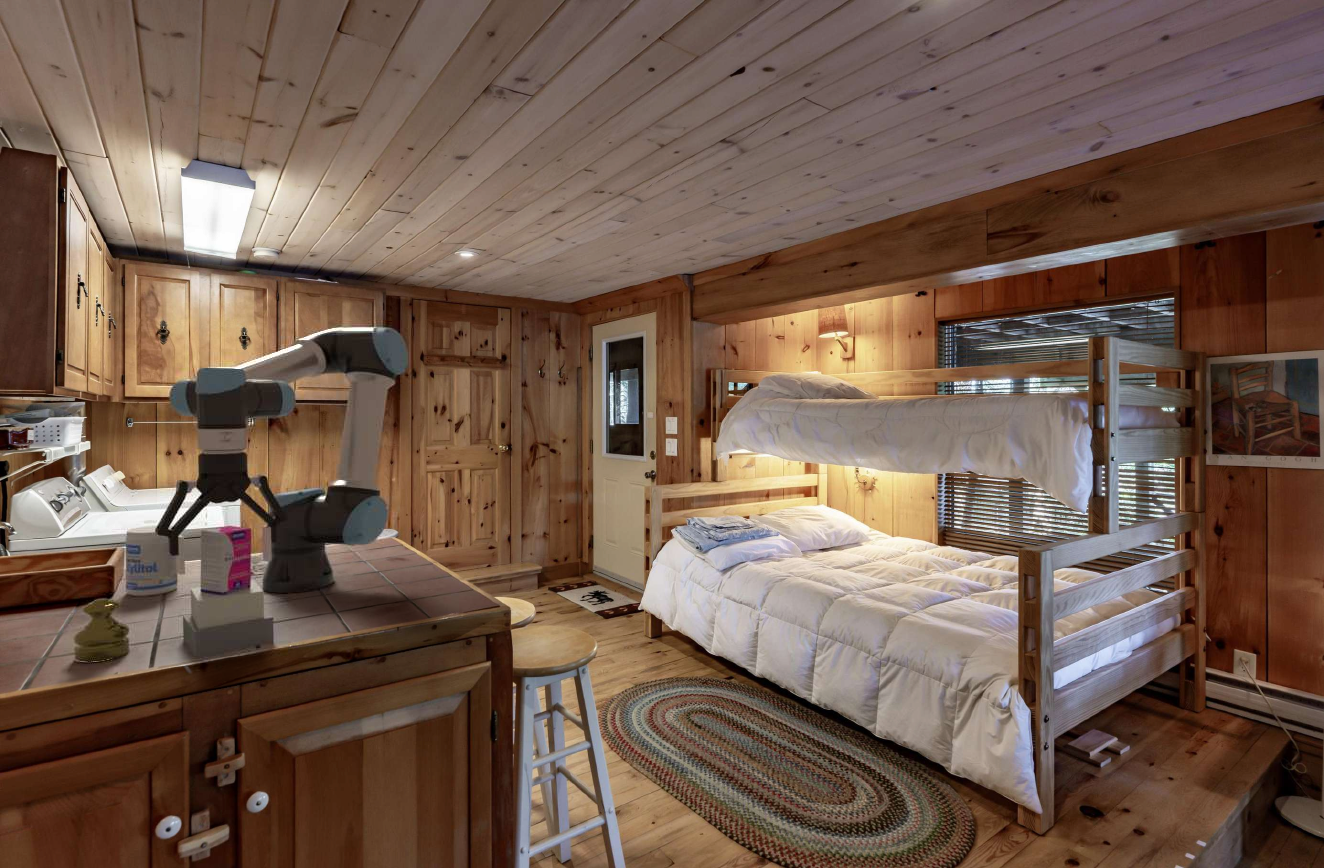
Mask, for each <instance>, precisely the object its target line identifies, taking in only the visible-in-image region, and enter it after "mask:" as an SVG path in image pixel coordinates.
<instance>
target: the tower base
mask: <svg viewBox="0 0 1324 868" xmlns="http://www.w3.org/2000/svg"><path fill="white" fill-rule="evenodd" d="M182 630H183V631H182V633H183V635H182V637H183V642H184V641H185V642H184V643H185V645H186V644H187V645H186V647H187V648H188V650H189V651H190V652H191V654H192V655H193V657H194V658H195V659H201V658H204V657H211V656H215V655H219V654H220V655H221V654H225V653H227V652H233V651H238V650H242V649H243V650H244V649H246V648H251V647H256V646H261V645H265V644H270V643H274V639H275V638H274V634H275V633H274V617H273V615H271V613H270V612H268V611H267V610H265V609H264V618H259V619H254V620H248V621H242V622H237V623H231V624H226V625H220V626H214V627H209V628H203V629H198V627H197V625H196V623H195V621H194V619H193V617H192V615H191V614H185V615H182Z"/></svg>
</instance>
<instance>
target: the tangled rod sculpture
mask: <svg viewBox="0 0 1324 868" xmlns="http://www.w3.org/2000/svg"><path fill="white" fill-rule="evenodd" d="M261 562H266V561H265V560H264V559H263V552H262V553H259V554H258V553H255V554H254V553H253V554H251V573H253V572H257V571H260V570H263V569H264V568H267V565H268V562H267V563H261Z"/></svg>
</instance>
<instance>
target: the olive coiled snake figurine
mask: <svg viewBox="0 0 1324 868" xmlns="http://www.w3.org/2000/svg"><path fill="white" fill-rule="evenodd" d="M119 607H120V602H119V601H117V600H114V599H108V598H106V597H105V598H104V597H103V598H96V599H94V600H93V601H92V602H89V603H87V604H86V605H84V606H82V609H81V610H82V613H85V614H87V615H88V616H90V618H91V619H90V621H88V622H87V624H85V625H84V627H83V628H82V629H80V630H78V631H77V632H76V633H75V634H74V635H73V643H74V644H76V646H74V648H73V652H74V660H75V659H76V660H79V661H85V662H86V661H87V662H91V661H92V662H93V661H102V660H107V659H111V658H115V659H117V658H116V657H118V656H120V657H122V656H125V655H126V654H127V653H128V652H129V651H130V638H129V637H127V636H128V635H129V632H130V628H129V626H128V625H127V624H125V623H122V622H119V620H117V619H115V618H113V616H112V614H113V612H114V611H115V610H117V609H118V608H119ZM121 655H122V656H121ZM118 658H119V657H118ZM111 660H112V659H111ZM107 661H108V660H107Z"/></svg>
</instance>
